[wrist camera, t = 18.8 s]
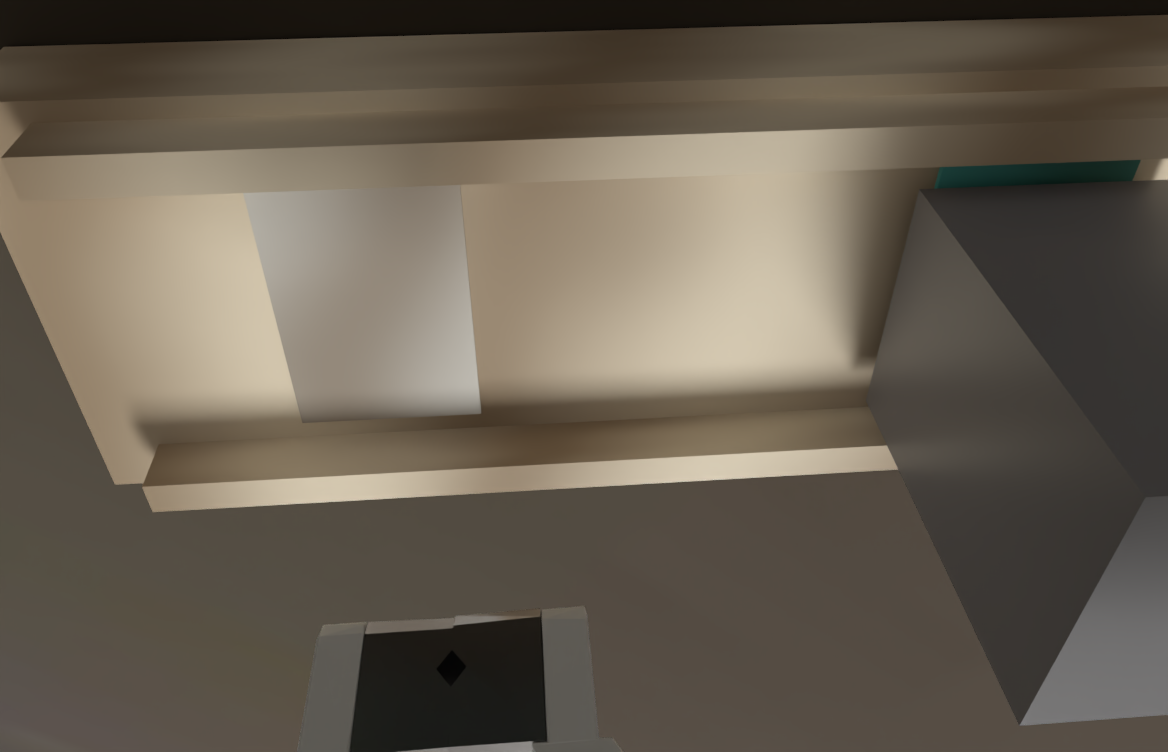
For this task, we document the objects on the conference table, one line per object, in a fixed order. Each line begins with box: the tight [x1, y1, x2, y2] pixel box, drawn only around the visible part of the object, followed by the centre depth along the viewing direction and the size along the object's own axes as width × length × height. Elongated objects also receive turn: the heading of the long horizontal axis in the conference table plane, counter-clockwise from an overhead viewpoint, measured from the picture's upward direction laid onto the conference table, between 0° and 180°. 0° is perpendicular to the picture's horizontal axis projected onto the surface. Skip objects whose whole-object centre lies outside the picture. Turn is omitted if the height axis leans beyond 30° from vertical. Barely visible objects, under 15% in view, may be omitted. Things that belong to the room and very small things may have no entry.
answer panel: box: [0, 15, 1168, 512], centre depth 16 cm, size 30×7×3 cm, turn 90°
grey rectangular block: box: [866, 180, 1168, 726], centre depth 12 cm, size 4×4×6 cm
